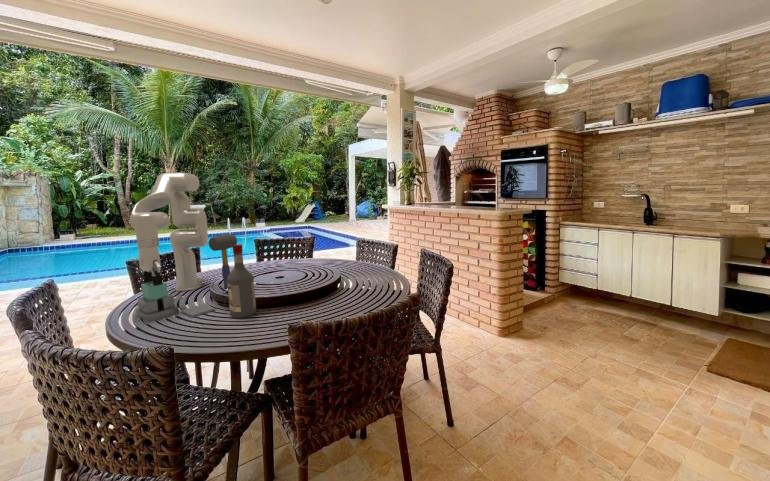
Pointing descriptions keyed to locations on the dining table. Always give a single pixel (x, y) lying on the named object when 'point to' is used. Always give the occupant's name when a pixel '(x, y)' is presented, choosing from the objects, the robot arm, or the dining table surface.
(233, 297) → the liquor
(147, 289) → the collar
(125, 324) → the dining table surface
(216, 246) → the rubber mallet
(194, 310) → the mat
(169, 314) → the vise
